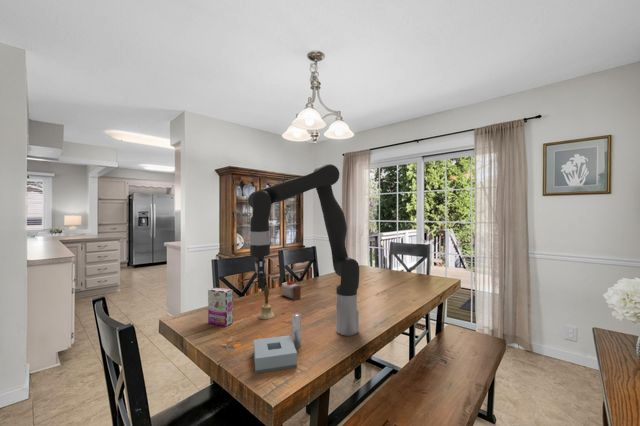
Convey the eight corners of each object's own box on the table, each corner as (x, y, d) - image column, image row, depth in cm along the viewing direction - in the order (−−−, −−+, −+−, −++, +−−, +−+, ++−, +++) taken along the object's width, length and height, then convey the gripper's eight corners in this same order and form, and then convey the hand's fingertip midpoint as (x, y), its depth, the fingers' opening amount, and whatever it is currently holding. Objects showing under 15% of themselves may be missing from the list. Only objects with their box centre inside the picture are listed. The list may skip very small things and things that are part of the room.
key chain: (244, 348, 110) (244, 346, 110) (225, 354, 106) (225, 351, 106) (233, 336, 120) (233, 334, 120) (216, 341, 116) (216, 339, 116)
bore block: (290, 347, 110) (290, 335, 110) (297, 367, 96) (297, 352, 96) (253, 352, 106) (253, 339, 106) (255, 373, 92) (255, 358, 92)
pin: (300, 342, 115) (300, 313, 115) (301, 346, 111) (301, 316, 111) (291, 343, 114) (291, 313, 114) (292, 347, 110) (293, 317, 110)
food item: (279, 295, 178) (279, 280, 178) (289, 293, 183) (289, 278, 183) (292, 300, 168) (292, 284, 168) (302, 298, 173) (302, 282, 173)
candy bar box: (233, 323, 134) (233, 289, 134) (226, 327, 129) (226, 292, 129) (215, 319, 138) (215, 286, 138) (207, 323, 133) (207, 289, 133)
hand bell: (277, 316, 143) (277, 285, 143) (264, 320, 137) (264, 288, 137) (268, 312, 149) (268, 282, 148) (254, 316, 142) (254, 285, 142)
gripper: (271, 245, 100) (271, 289, 100) (268, 240, 114) (269, 280, 114) (249, 245, 98) (250, 291, 98) (249, 241, 112) (250, 281, 112)
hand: (260, 285), depth 106 cm, fingers open, 8 cm apart
